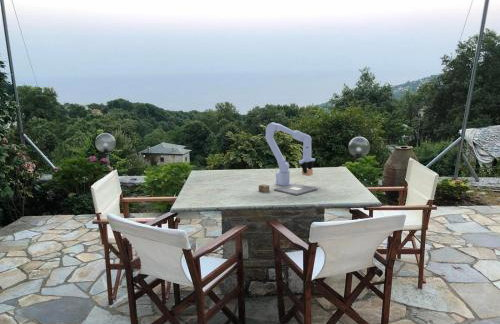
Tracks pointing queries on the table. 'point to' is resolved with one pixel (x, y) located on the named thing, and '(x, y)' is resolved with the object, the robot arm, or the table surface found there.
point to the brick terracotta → (308, 172)
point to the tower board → (295, 189)
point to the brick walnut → (264, 188)
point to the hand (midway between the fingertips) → (307, 172)
